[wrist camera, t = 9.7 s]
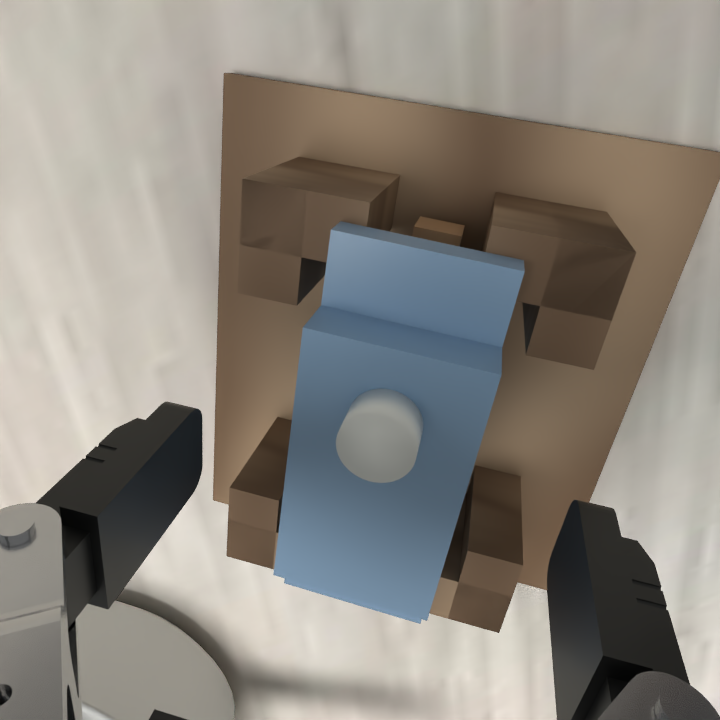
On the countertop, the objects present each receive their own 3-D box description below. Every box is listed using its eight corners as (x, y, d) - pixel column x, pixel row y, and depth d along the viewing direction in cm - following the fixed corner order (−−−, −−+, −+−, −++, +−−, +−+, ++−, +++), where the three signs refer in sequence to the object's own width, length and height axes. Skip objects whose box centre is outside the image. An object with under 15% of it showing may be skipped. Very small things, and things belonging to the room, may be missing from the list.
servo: (328, 483, 21) (254, 651, 15) (375, 190, 16) (295, 260, 10) (438, 513, 21) (407, 700, 14) (520, 220, 16) (528, 312, 10)
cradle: (218, 492, 23) (159, 577, 19) (231, 73, 16) (143, 72, 12) (551, 581, 21) (561, 695, 18) (722, 152, 15) (802, 180, 11)
